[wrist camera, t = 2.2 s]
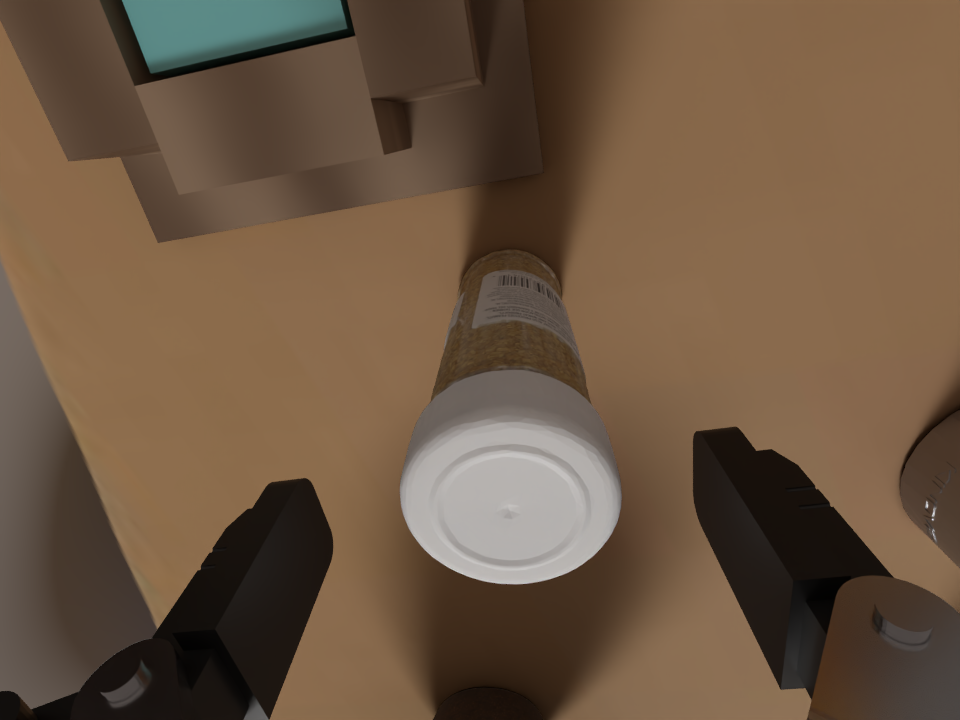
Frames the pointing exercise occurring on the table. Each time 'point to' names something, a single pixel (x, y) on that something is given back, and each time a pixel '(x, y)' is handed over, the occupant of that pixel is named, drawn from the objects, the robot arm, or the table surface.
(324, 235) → the table surface
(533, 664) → the table surface
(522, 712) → the plant pot
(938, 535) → the robot arm
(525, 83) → the socket block
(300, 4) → the teal square tile
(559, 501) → the sprinkles bottle
